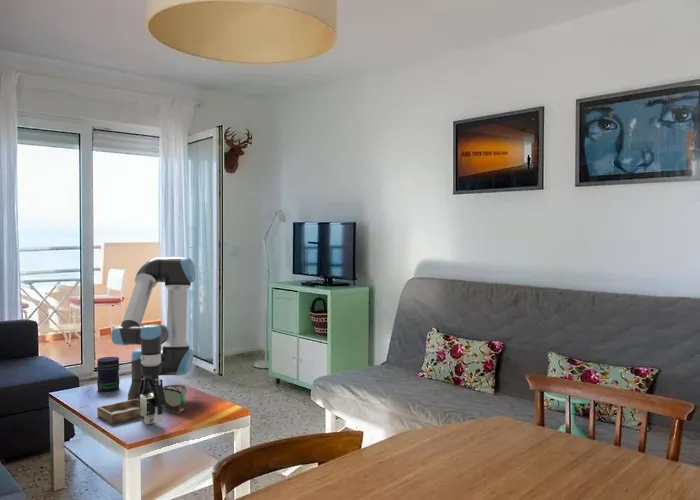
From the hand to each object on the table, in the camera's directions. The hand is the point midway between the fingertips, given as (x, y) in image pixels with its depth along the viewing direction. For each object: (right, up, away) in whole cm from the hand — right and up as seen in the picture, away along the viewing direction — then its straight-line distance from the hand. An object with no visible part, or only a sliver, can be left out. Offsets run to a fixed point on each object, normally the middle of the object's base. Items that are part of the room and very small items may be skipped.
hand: (151, 418), depth 226 cm
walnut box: (-14, -1, +9) cm, 16 cm away
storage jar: (-37, 0, +48) cm, 61 cm away
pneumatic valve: (0, -2, 0) cm, 2 cm away
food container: (+5, -1, +17) cm, 18 cm away
